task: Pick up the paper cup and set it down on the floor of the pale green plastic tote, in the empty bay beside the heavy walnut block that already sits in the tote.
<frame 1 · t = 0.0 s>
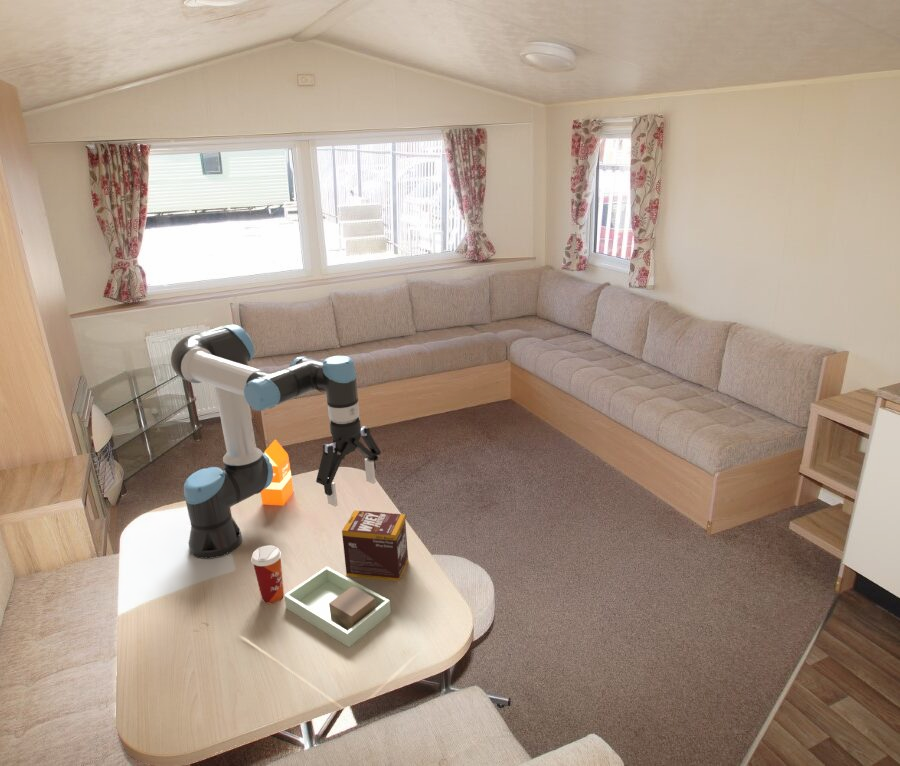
hand: (352, 492, 171), 28 cm above the table, fingers open, 13 cm apart
tote: (338, 612, 170), on the table
supplement box: (378, 569, 187), on the table
paper cup: (273, 596, 177), on the table
orange juice: (278, 498, 225), on the table
walnut block: (354, 619, 167), point 1 cm above the table, touching tote
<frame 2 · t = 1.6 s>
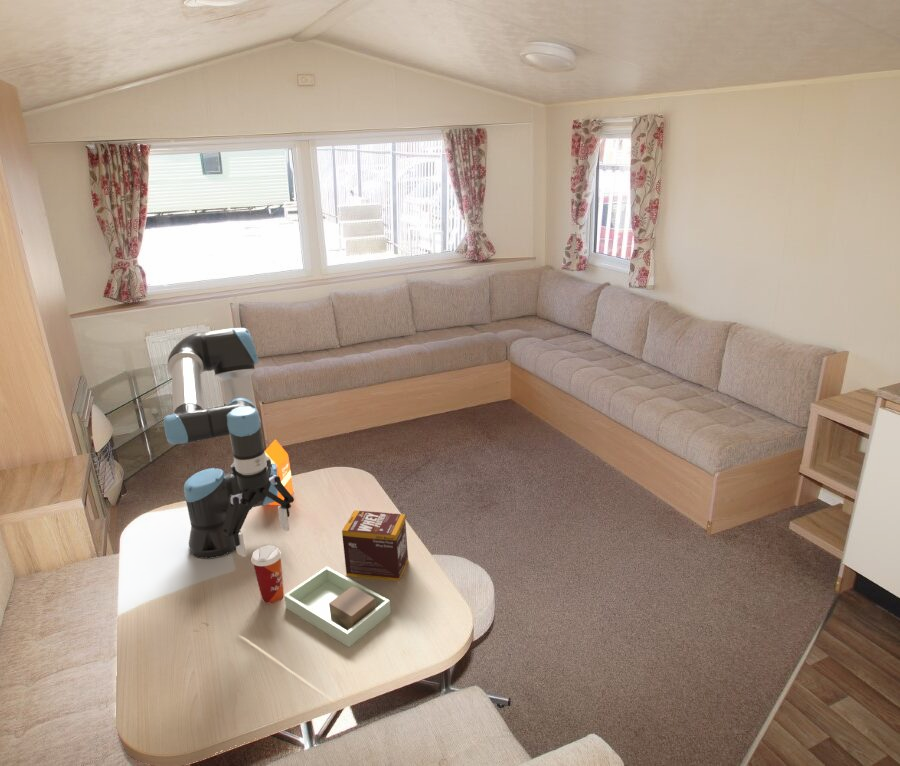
hand: (264, 541, 171), 18 cm above the table, fingers open, 13 cm apart
nothing on the table moved.
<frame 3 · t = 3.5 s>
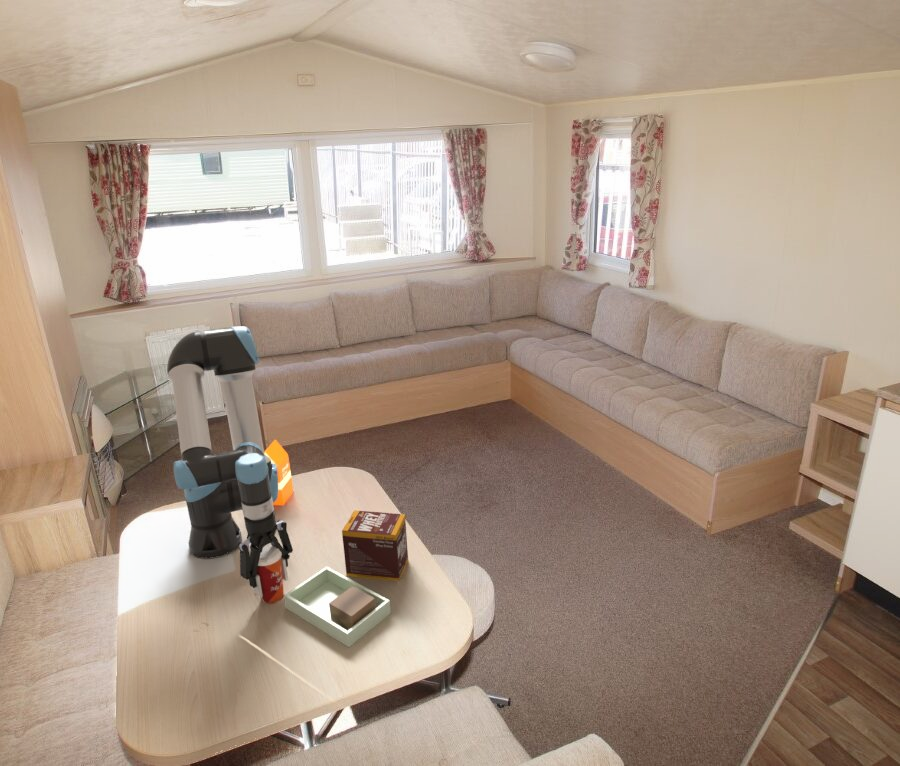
hand: (271, 586, 176), 3 cm above the table, fingers closed on paper cup, 8 cm apart
paper cup: (273, 596, 177), on the table, touching gripper
everything else where it was.
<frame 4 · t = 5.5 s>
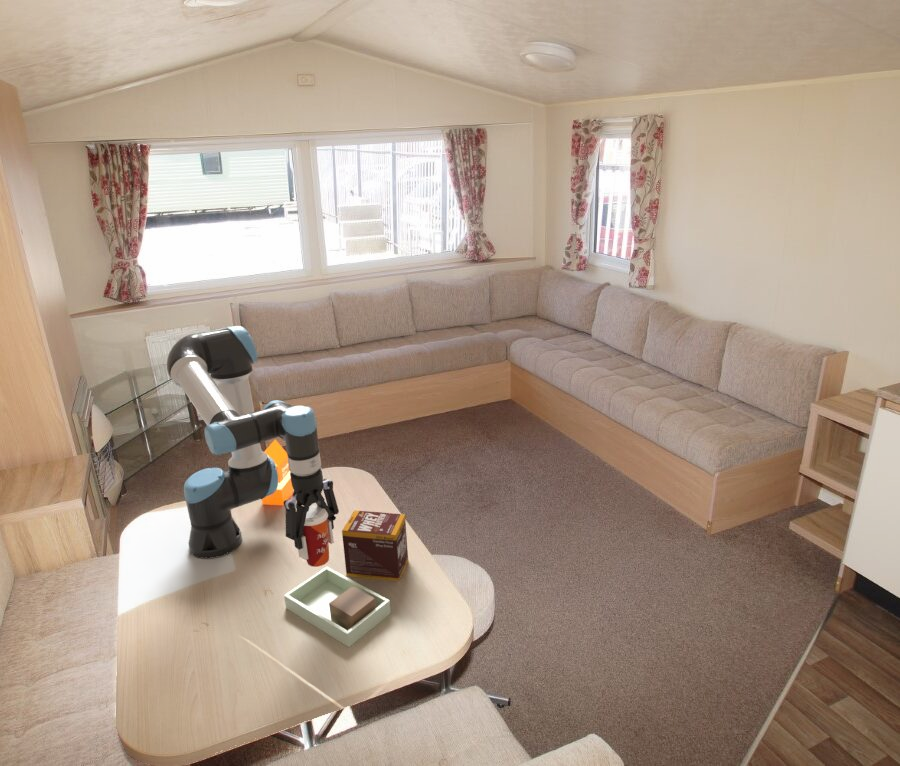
hand: (316, 549, 167), 17 cm above the table, fingers closed on paper cup, 8 cm apart
paper cup: (318, 560, 168), point 14 cm above the table, touching gripper
everything else where it was.
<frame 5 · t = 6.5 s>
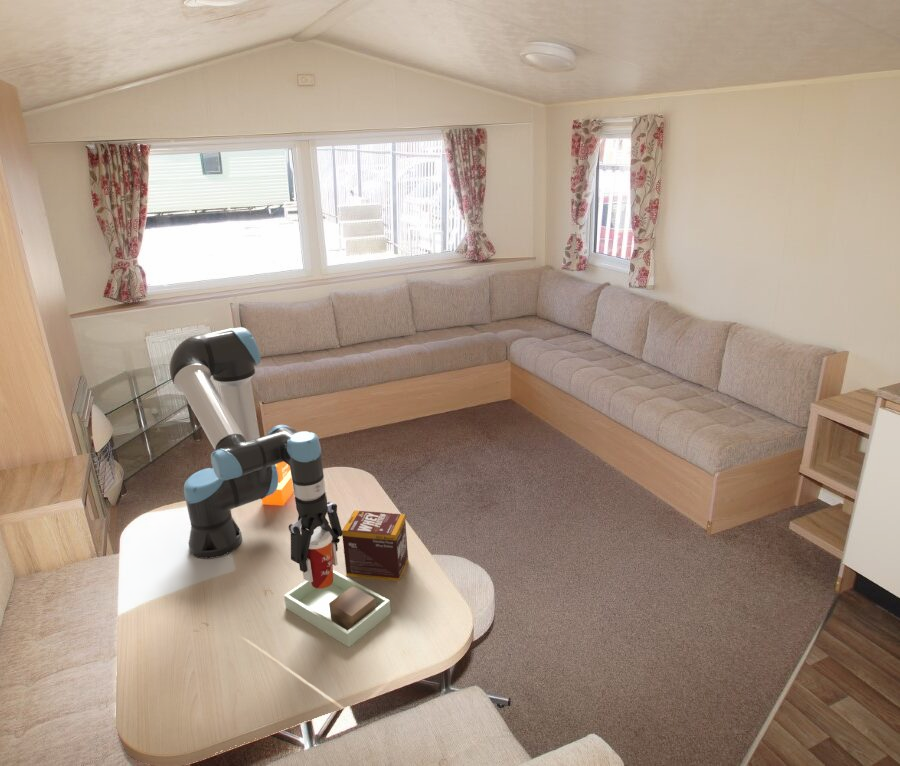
hand: (320, 571, 169), 11 cm above the table, fingers closed on paper cup, 8 cm apart
paper cup: (322, 582, 171), point 7 cm above the table, touching gripper
everything else where it was.
when the fingers open (6 cm above the table, at t = 7.6 s): paper cup drops 2 cm, resting on tote.
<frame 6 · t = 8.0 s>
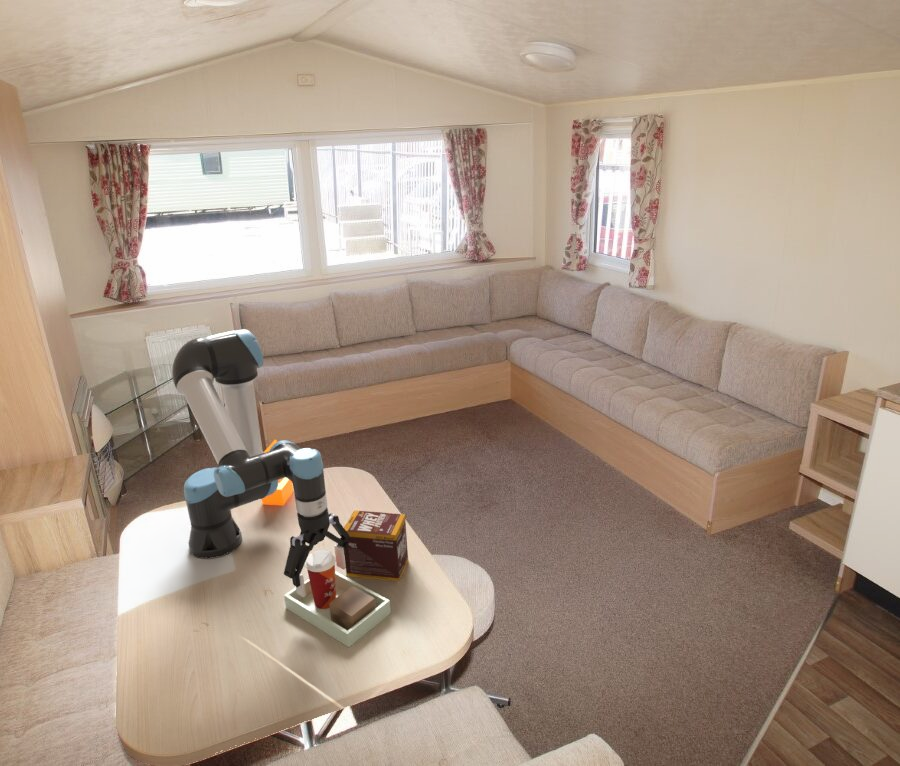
hand: (321, 580, 171), 8 cm above the table, fingers open, 13 cm apart
paper cup: (325, 602, 173), resting on tote
everything else where it was.
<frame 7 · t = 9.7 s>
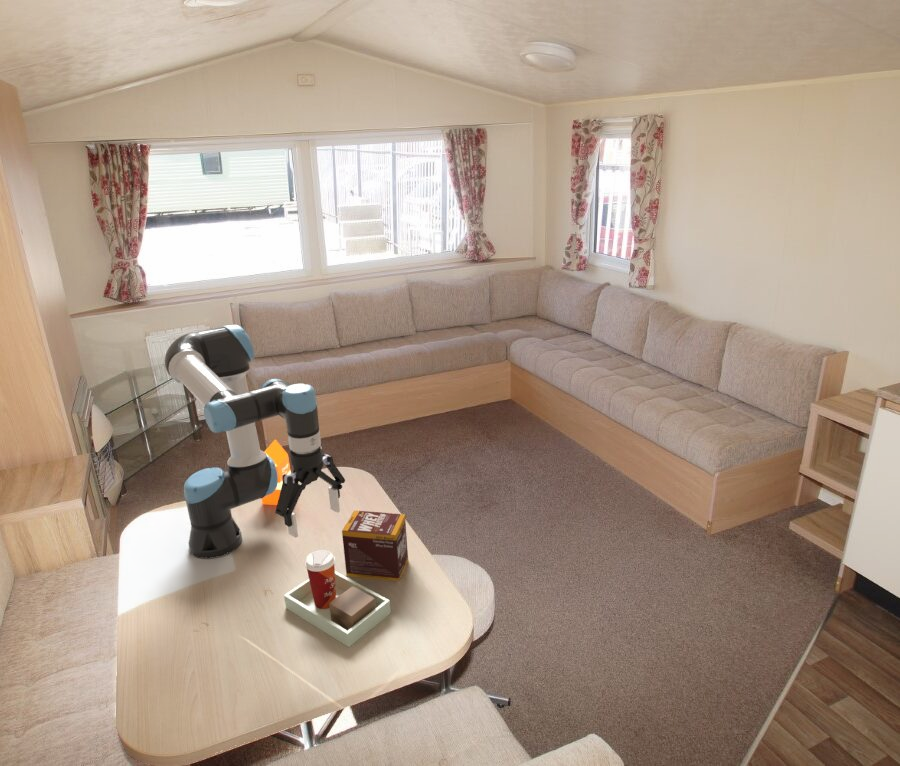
hand: (314, 522, 167), 24 cm above the table, fingers open, 13 cm apart
nothing on the table moved.
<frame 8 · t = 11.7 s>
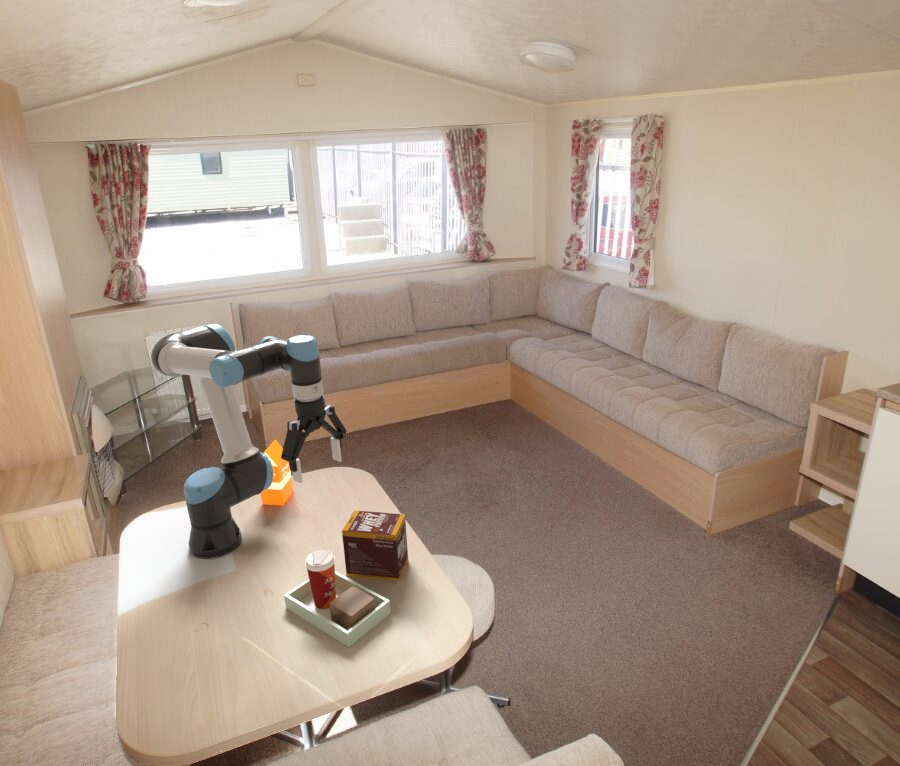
hand: (318, 470, 176), 32 cm above the table, fingers open, 13 cm apart
nothing on the table moved.
at the end: paper cup inside the target area on the tote (0.3 cm from its centre), point 0.4 cm above the tote's base; paper cup tilted 0°; the gripper is holding nothing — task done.
